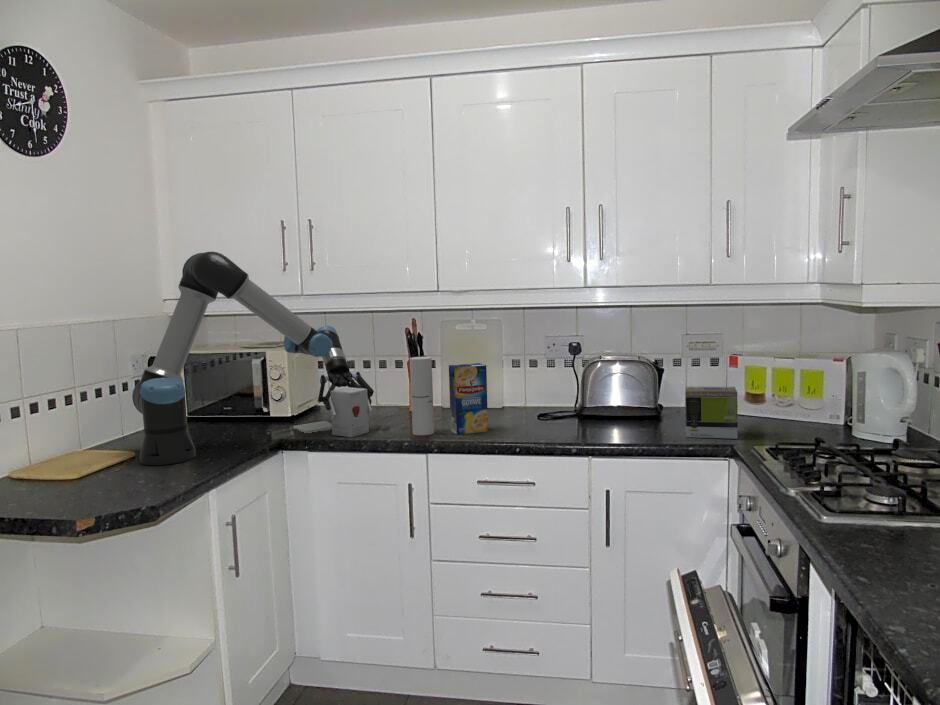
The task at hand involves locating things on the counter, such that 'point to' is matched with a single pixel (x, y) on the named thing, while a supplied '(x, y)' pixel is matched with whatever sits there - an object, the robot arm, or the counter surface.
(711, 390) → the tea box
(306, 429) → the pad
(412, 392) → the cylindrical container
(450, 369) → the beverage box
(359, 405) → the supplement box
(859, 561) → the counter surface
